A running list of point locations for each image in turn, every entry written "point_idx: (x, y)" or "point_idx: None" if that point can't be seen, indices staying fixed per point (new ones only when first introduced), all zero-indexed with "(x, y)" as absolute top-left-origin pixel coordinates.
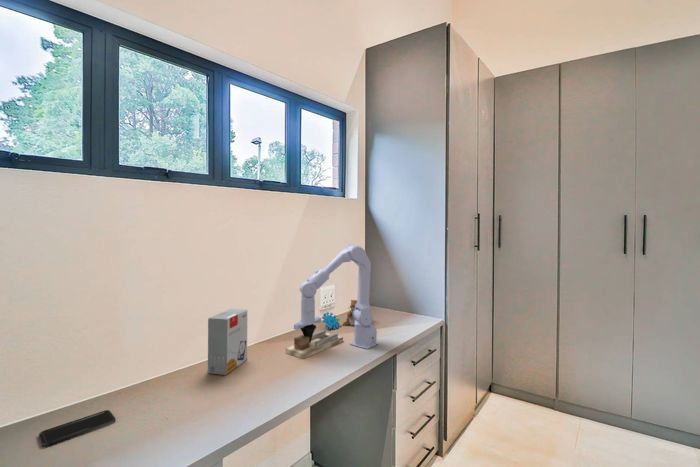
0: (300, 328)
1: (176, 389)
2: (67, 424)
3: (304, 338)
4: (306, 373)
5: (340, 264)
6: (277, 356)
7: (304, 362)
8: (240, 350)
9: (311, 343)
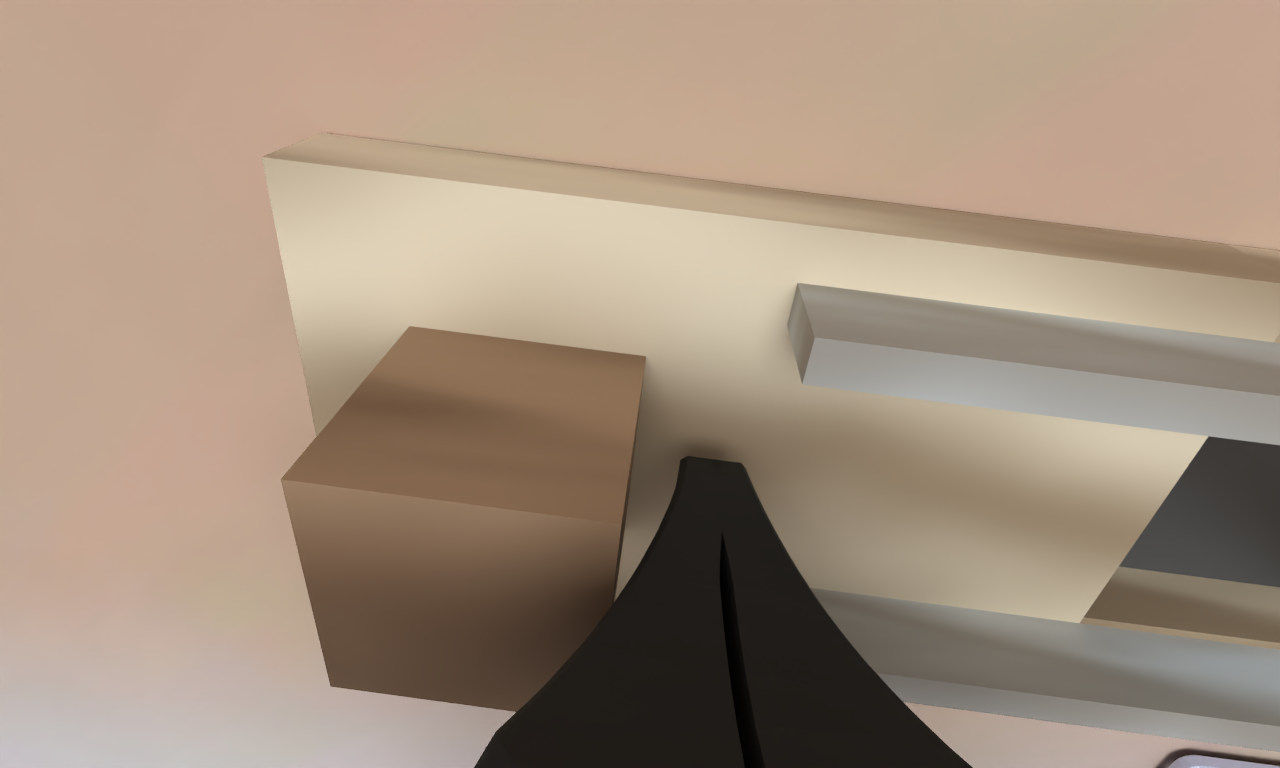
0: (498, 744)
1: None
2: None
3: (444, 687)
4: (169, 705)
5: None
6: (94, 108)
7: None
8: None
9: (842, 456)
